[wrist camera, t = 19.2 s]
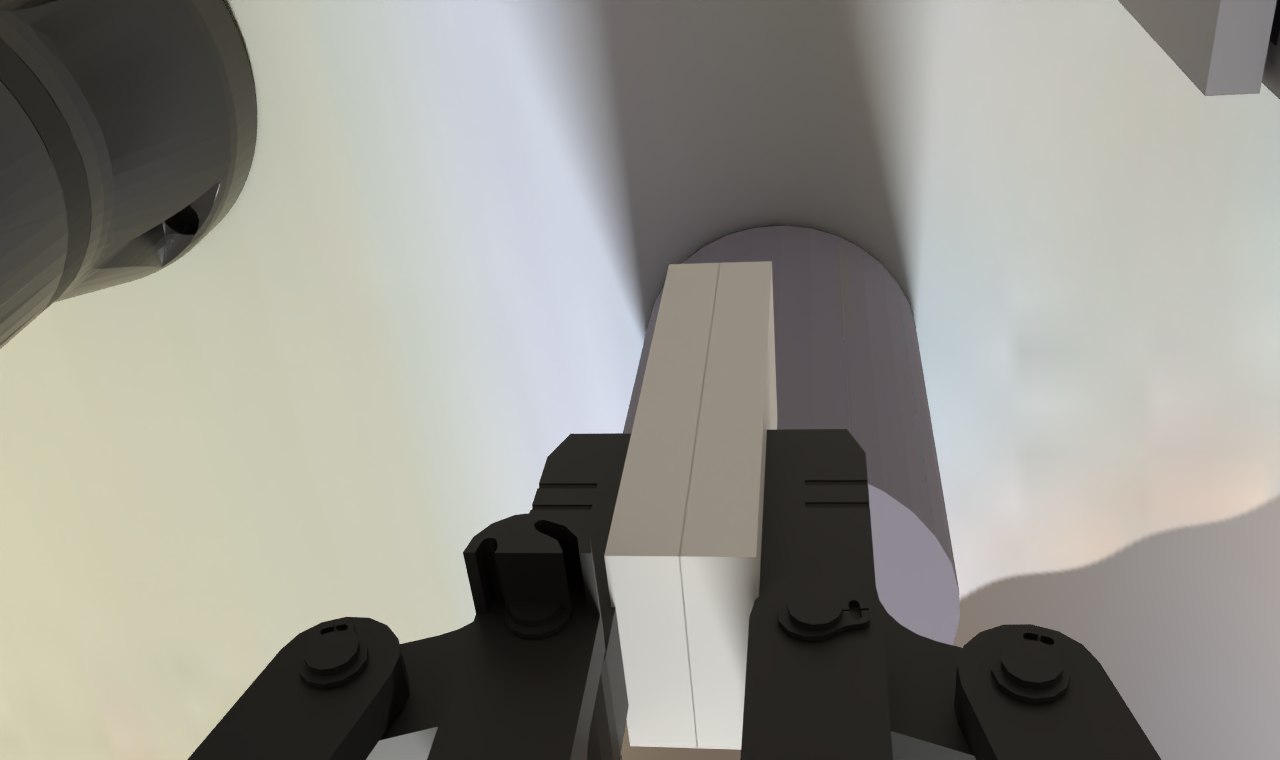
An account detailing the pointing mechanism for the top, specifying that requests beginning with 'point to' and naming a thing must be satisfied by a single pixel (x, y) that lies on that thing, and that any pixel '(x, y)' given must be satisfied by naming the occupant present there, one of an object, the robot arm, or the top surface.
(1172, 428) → the top surface
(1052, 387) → the top surface
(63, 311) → the top surface
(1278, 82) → the grey box
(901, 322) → the container
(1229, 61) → the tray
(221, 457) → the top surface
